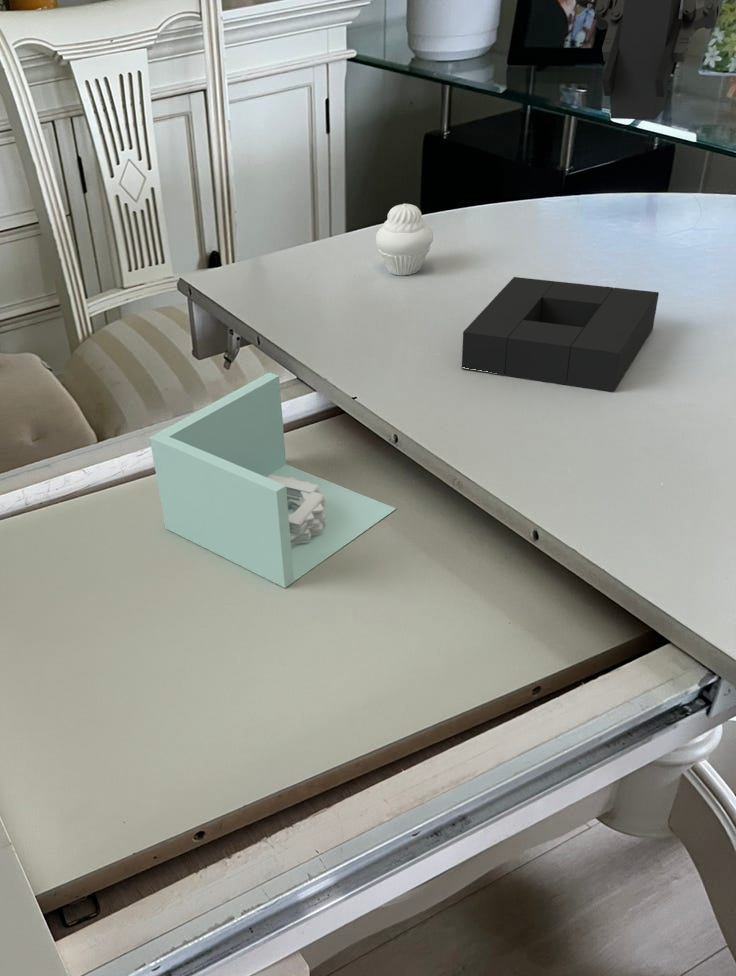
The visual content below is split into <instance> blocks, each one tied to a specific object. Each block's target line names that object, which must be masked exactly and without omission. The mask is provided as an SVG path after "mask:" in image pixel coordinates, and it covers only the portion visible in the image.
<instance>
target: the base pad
mask: <svg viewBox="0 0 736 976" xmlns="http://www.w3.org/2000/svg"><path fill="white" fill-rule="evenodd" d="M659 295H660V292H658V291H650V290H640V289H630V288H624V287H623V288H621V287H612V286H604V285H594V284H586V283H575V282H567V281H557V280H556V281H555V280H548V279H537V278H528V277H519V276H513V277H512V278H511V280H509V282H507V284H506V285H505V286H504V287H503V288H502V289H501V290H500V291H499V292H498V293H497V295H495V297H494V298H493V299H492V300H491V301H490V302H489V303H488V304H487V306H486V307H485V308H483V310H482V311H481V312H480V313H479V314H478V315H477V316H476V317H475V319H474V320H473V321H472V322H471V323H470V324H469V325H468V326H467V327H466V328H465V329H464V330H463V332H462V348H461V368H462V367H465V368H469V369H476V370H482V371H488V372H492V373H497V374H496V375H498V374H501V375H500V376H506V377H512V378H517V379H518V378H519V379H526V380H532V381H539V382H546V383H552V384H559V385H566V386H572V387H577V388H578V387H579V388H585V389H591V388H593V389H592V390H598V391H606V392H612V393H613V392H615V391H616V389H617V388H618V386H619V384H620V383H621V381H622V379H623V378H624V376H625V375H626V373H627V371H628V370H629V369H630V367H631V365H632V363H633V362H634V360H635V359H636V356H637V355H638V354H639V352H640V350H641V349H642V347H643V346H644V344H645V343H646V341H647V339H648V337H649V336H650V334H651V333H652V331H653V330H654V324H655V318H656V312H657V306H658V301H659ZM492 373H491V374H492Z"/></svg>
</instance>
